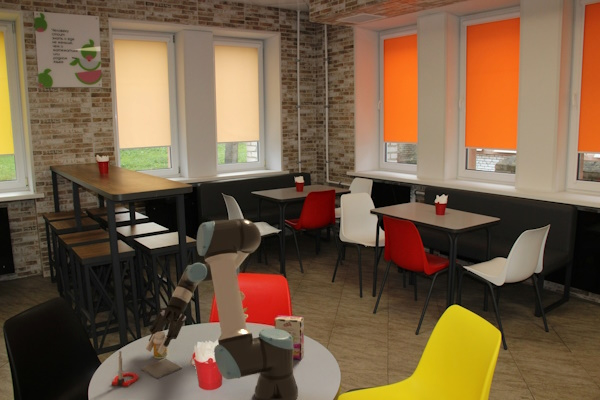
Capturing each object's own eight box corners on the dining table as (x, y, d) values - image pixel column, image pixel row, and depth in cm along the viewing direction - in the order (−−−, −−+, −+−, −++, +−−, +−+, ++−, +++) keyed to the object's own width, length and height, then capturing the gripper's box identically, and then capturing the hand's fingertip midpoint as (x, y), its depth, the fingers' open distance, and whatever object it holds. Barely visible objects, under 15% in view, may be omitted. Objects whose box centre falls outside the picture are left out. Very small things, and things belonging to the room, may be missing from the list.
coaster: (181, 368, 211) (181, 367, 211) (157, 378, 203) (156, 377, 203) (165, 359, 218) (165, 358, 218) (141, 369, 210) (141, 367, 210)
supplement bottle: (155, 353, 224) (154, 330, 222) (168, 352, 224) (167, 330, 223) (152, 359, 219) (151, 336, 217) (166, 358, 219) (165, 335, 218)
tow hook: (121, 374, 207) (109, 385, 198) (120, 341, 205) (108, 351, 196) (142, 376, 206) (130, 387, 197) (141, 343, 204) (130, 353, 195)
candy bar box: (304, 354, 223) (304, 316, 220) (301, 360, 218) (301, 321, 215) (277, 352, 226) (277, 314, 223) (274, 357, 221) (274, 318, 218)
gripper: (201, 307, 228) (176, 360, 216) (167, 300, 236) (141, 350, 225) (192, 299, 222) (166, 353, 211) (158, 292, 231) (131, 343, 219)
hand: (153, 351), depth 218 cm, fingers closed on supplement bottle, 5 cm apart
